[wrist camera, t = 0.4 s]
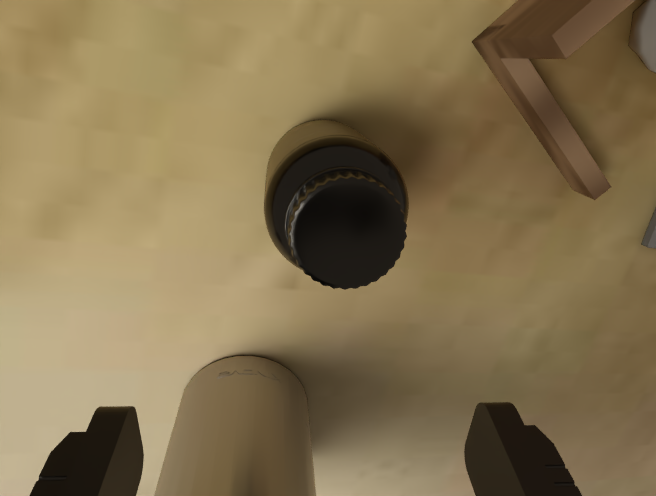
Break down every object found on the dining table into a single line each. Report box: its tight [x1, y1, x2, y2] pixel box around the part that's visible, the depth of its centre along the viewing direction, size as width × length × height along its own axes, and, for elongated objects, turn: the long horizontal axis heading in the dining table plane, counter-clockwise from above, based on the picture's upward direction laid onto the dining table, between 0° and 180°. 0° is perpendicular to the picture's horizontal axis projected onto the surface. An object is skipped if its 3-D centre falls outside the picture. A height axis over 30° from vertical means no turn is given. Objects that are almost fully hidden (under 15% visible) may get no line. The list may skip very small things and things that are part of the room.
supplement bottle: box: [264, 120, 409, 289], centre depth 25 cm, size 7×7×12 cm
